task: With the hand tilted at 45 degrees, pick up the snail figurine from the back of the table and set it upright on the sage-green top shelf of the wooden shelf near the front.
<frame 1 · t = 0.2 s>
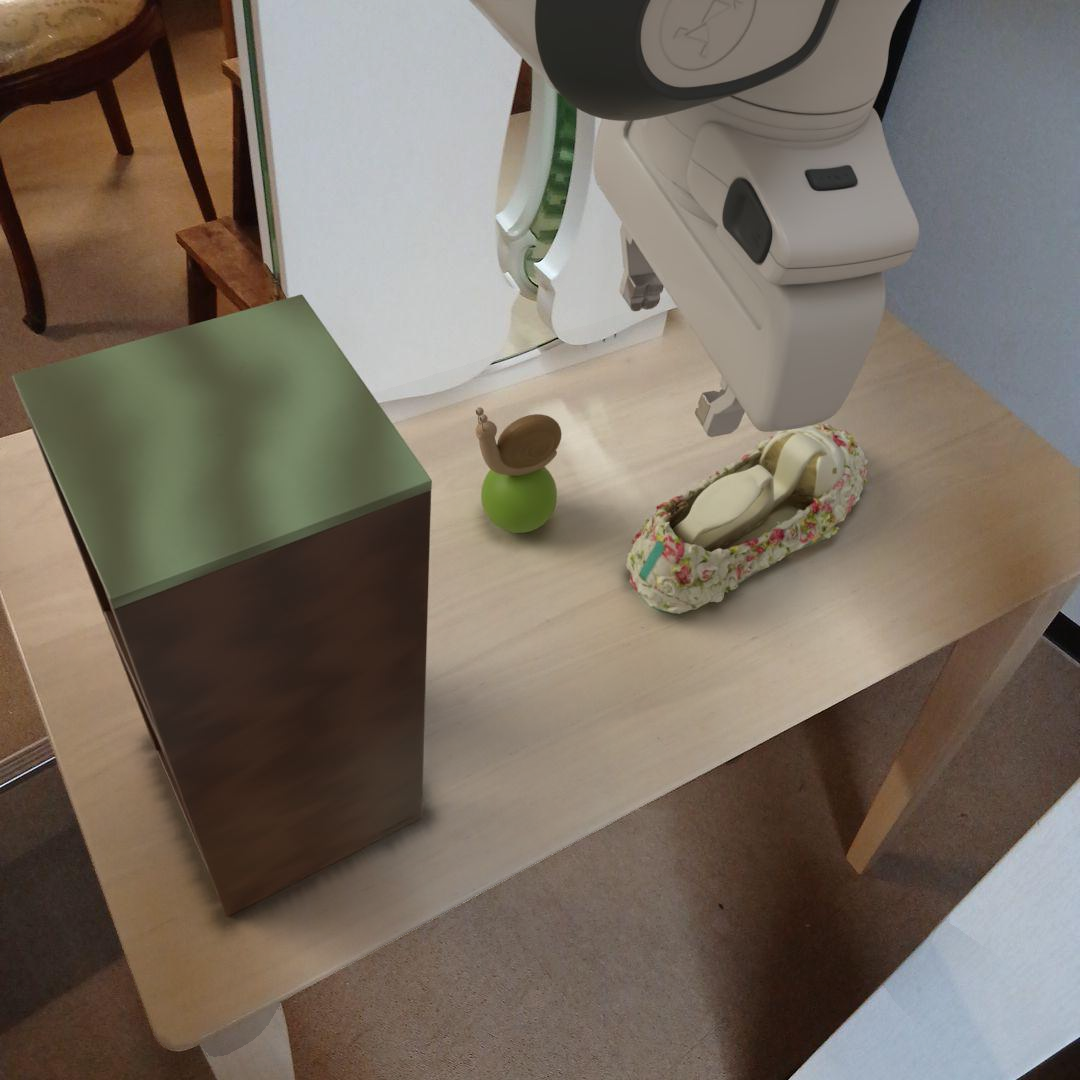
hand: (674, 360, 56), 23 cm above the table, tool pointing down, fingers open, 8 cm apart
snail figurine: (509, 522, 78), on the table
ballet flat: (752, 534, 80), on the table
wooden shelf: (286, 781, 64), on the table
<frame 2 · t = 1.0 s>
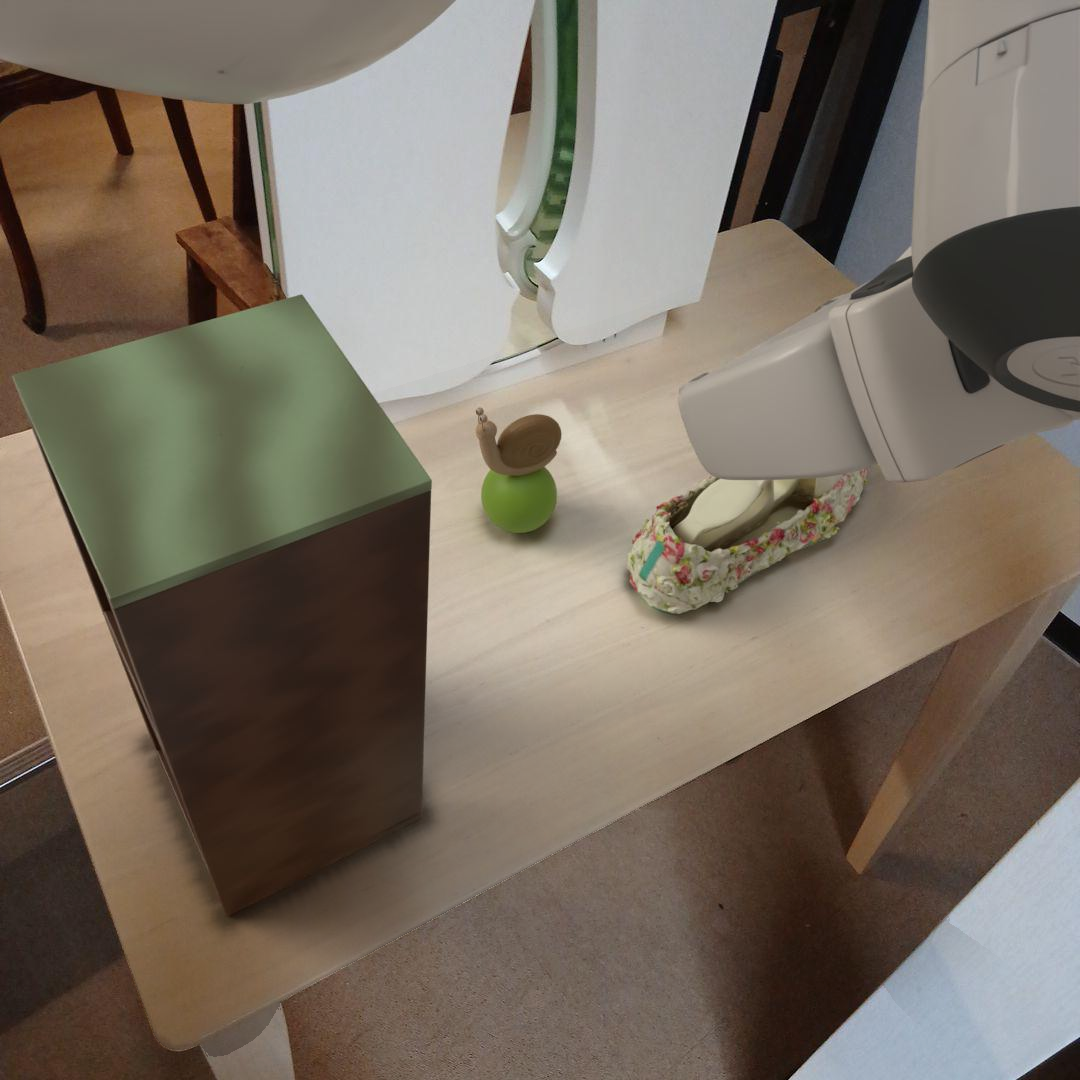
hand: (763, 358, 50), 28 cm above the table, tool tilted 45°, fingers open, 8 cm apart
nothing on the table moved.
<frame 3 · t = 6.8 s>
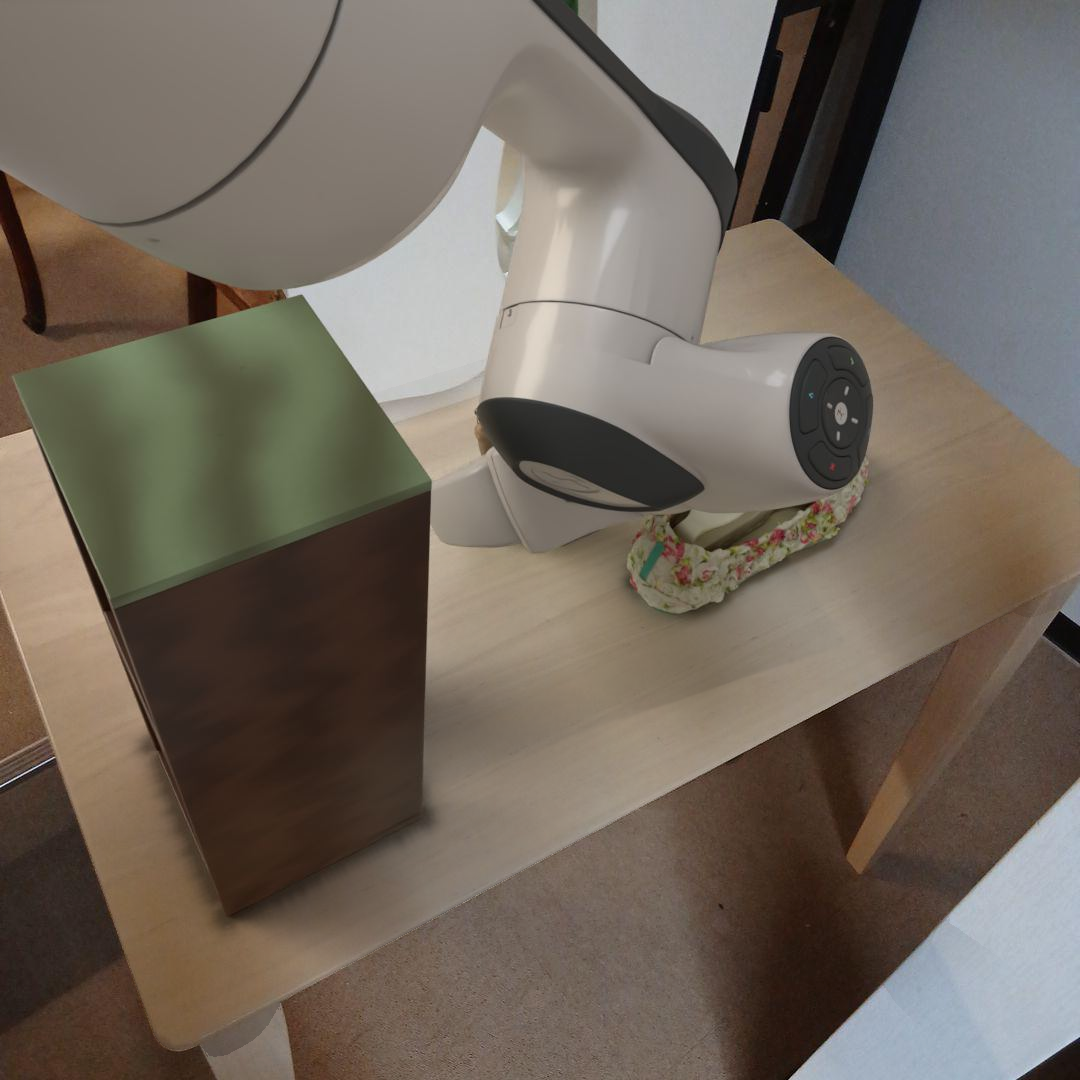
hand: (511, 454, 73), 7 cm above the table, tool tilted 45°, fingers closed on snail figurine, 5 cm apart
snail figurine: (509, 523, 78), on the table, touching gripper
everything else where it was.
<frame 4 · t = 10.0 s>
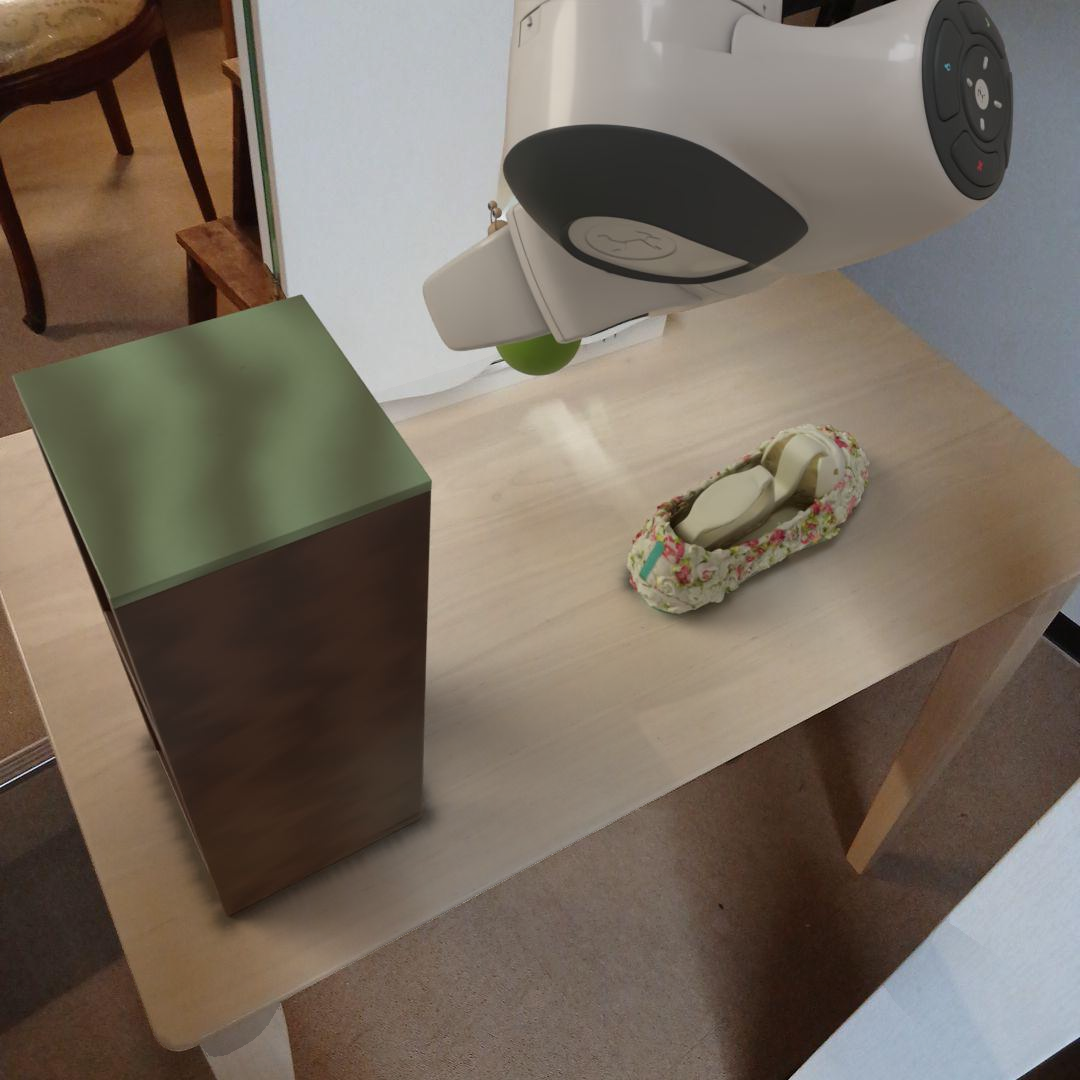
hand: (530, 273, 62), 22 cm above the table, tool tilted 45°, fingers closed on snail figurine, 5 cm apart
snail figurine: (525, 368, 67), point 15 cm above the table, touching gripper
everything else where it was.
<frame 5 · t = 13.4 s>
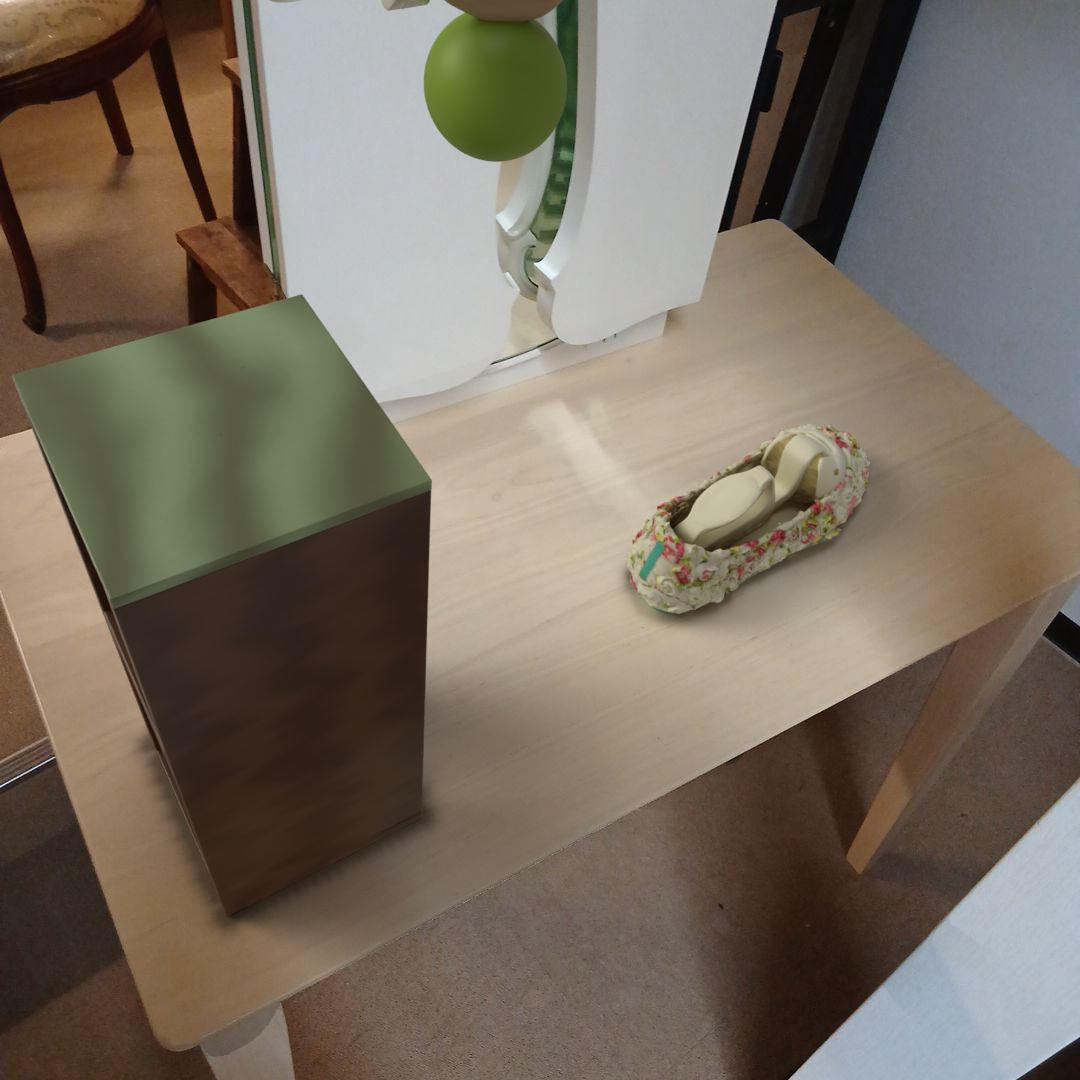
snail figurine: (478, 155, 43), point 36 cm above the table, touching gripper
everything else where it was.
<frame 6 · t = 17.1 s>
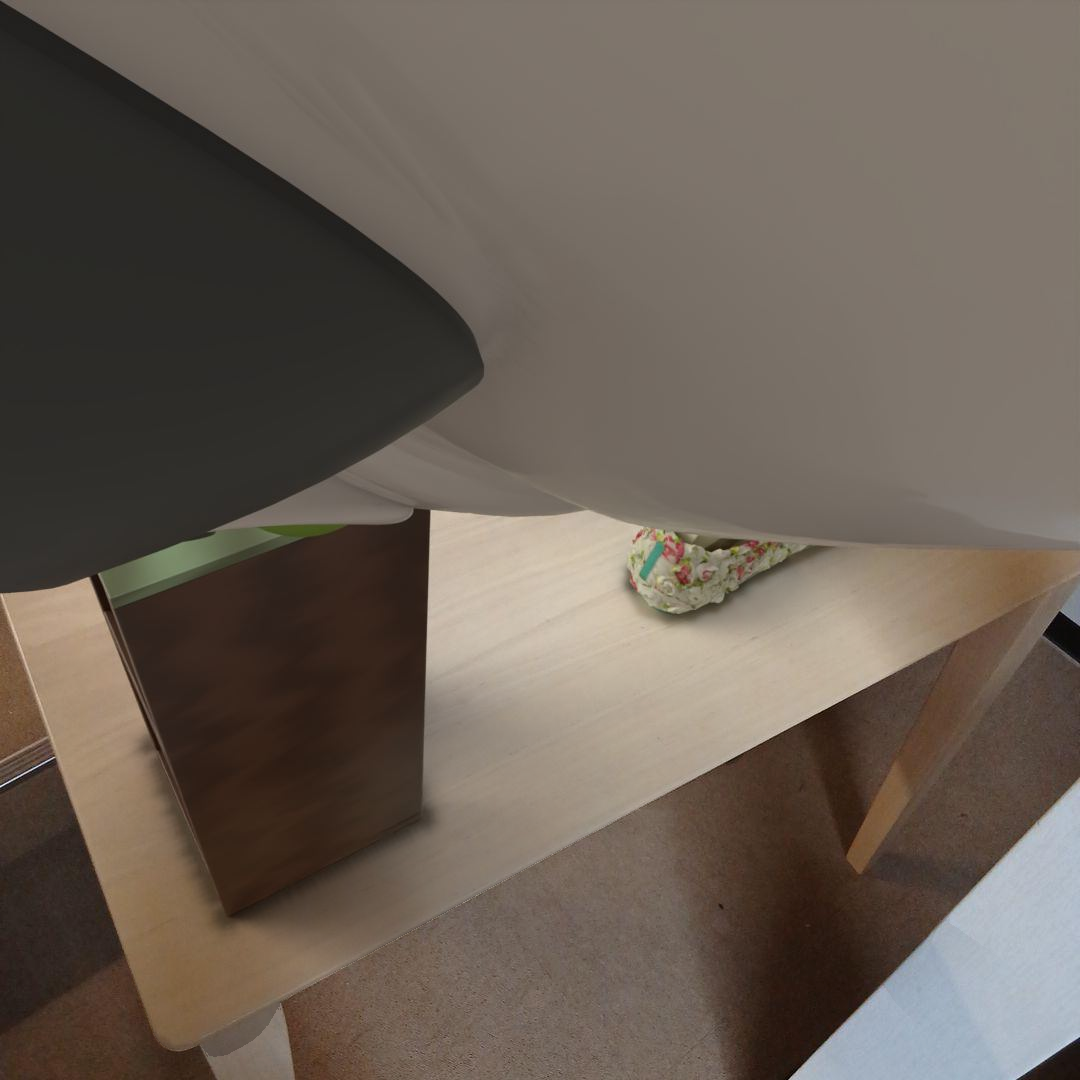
hand: (262, 323, 28), 41 cm above the table, tool tilted 45°, fingers closed on snail figurine, 5 cm apart
snail figurine: (290, 509, 33), point 35 cm above the table, touching gripper
everything else where it was.
when the fingers open (37 cm above the table, at t = 20.0 s): snail figurine stays where it is, resting on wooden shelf.
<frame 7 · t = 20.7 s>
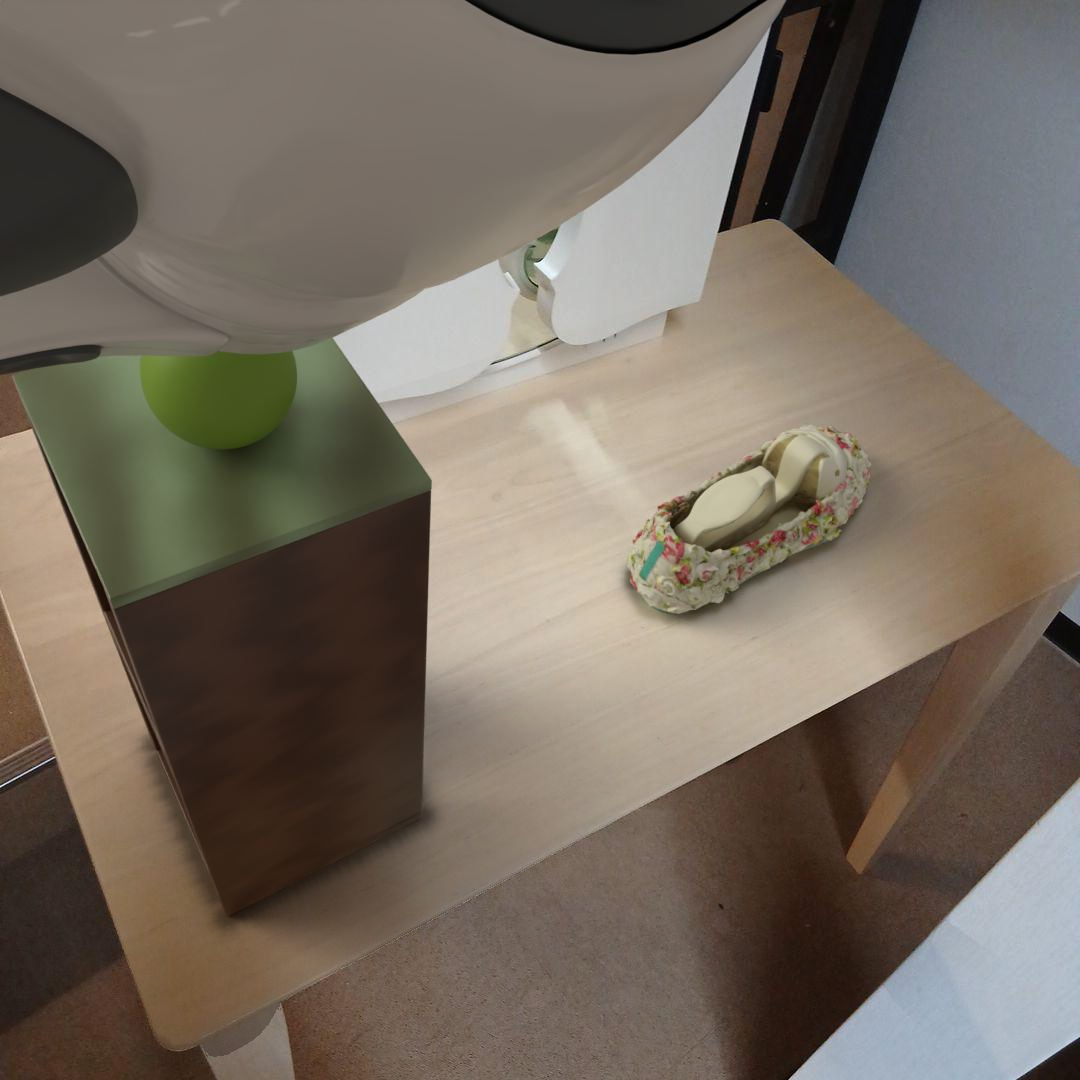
hand: (183, 256, 35), 37 cm above the table, tool tilted 45°, fingers open, 8 cm apart
snail figurine: (216, 431, 41), point 30 cm above the table, touching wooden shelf
everything else where it was.
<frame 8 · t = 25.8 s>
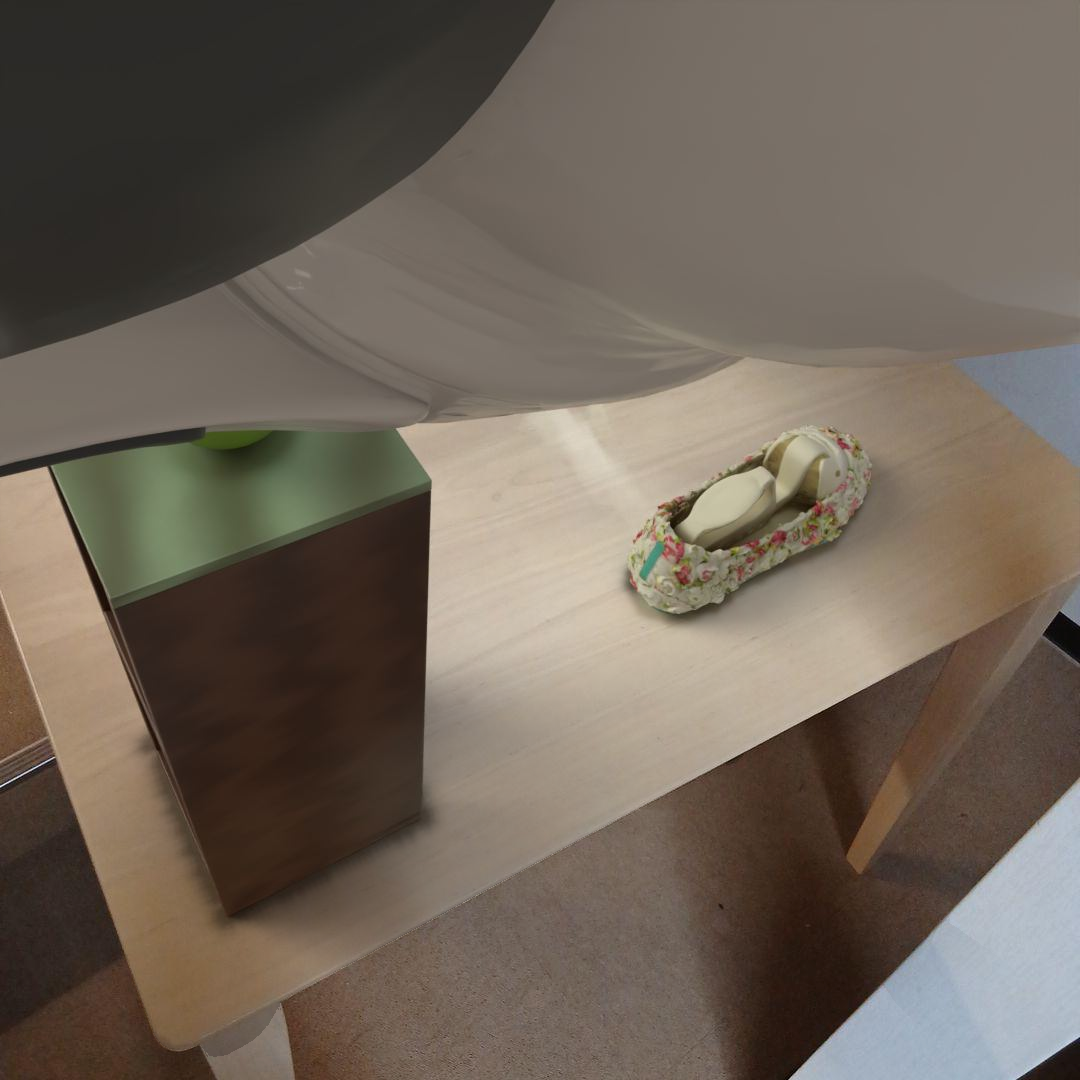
hand: (261, 263, 26), 43 cm above the table, tool tilted 45°, fingers open, 8 cm apart
nothing on the table moved.
at the end: snail figurine inside the target area on the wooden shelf (0.1 cm from its centre), point 29.8 cm above the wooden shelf's base; snail figurine tilted 0° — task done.
